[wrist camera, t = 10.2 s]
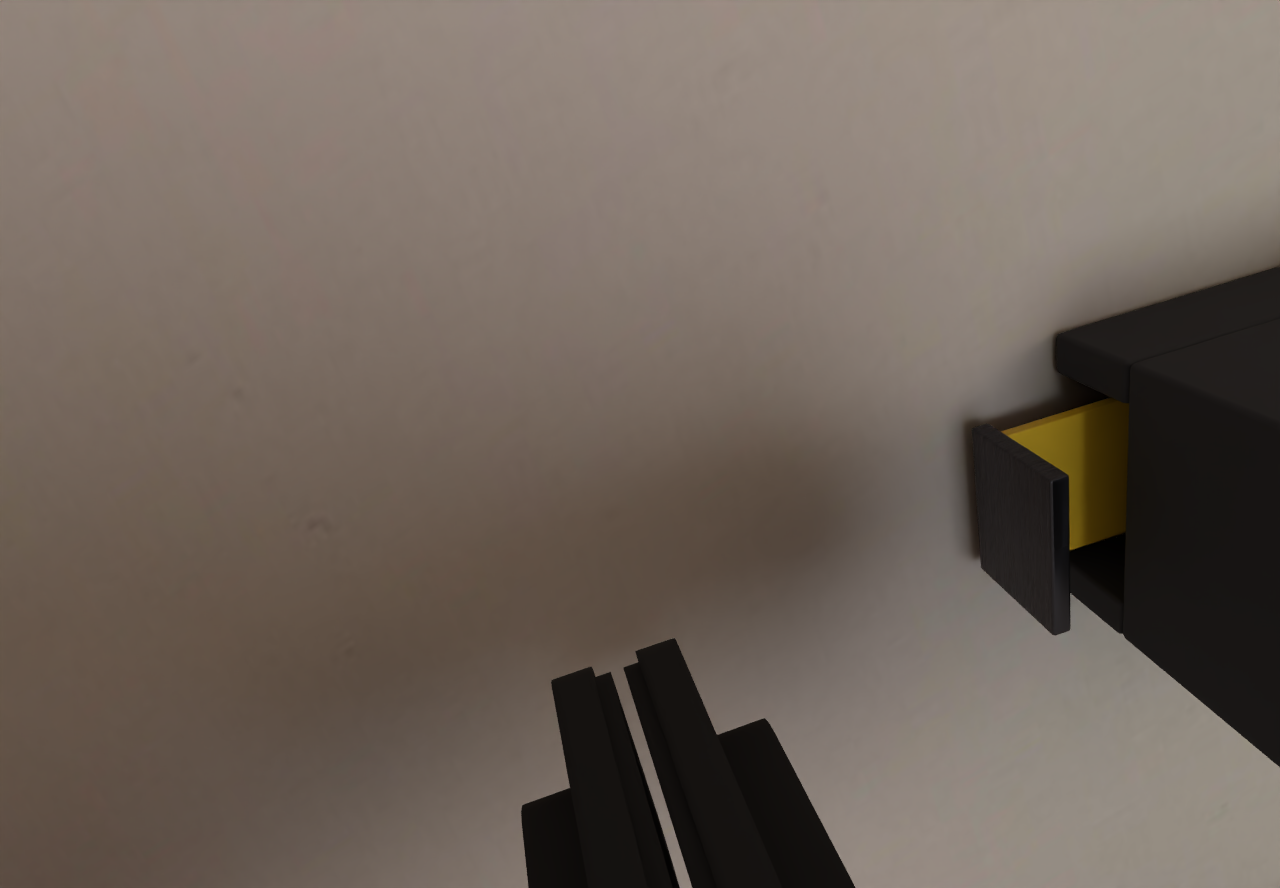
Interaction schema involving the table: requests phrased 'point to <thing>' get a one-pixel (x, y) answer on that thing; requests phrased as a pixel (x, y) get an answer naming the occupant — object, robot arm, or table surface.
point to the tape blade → (1049, 500)
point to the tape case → (1195, 494)
